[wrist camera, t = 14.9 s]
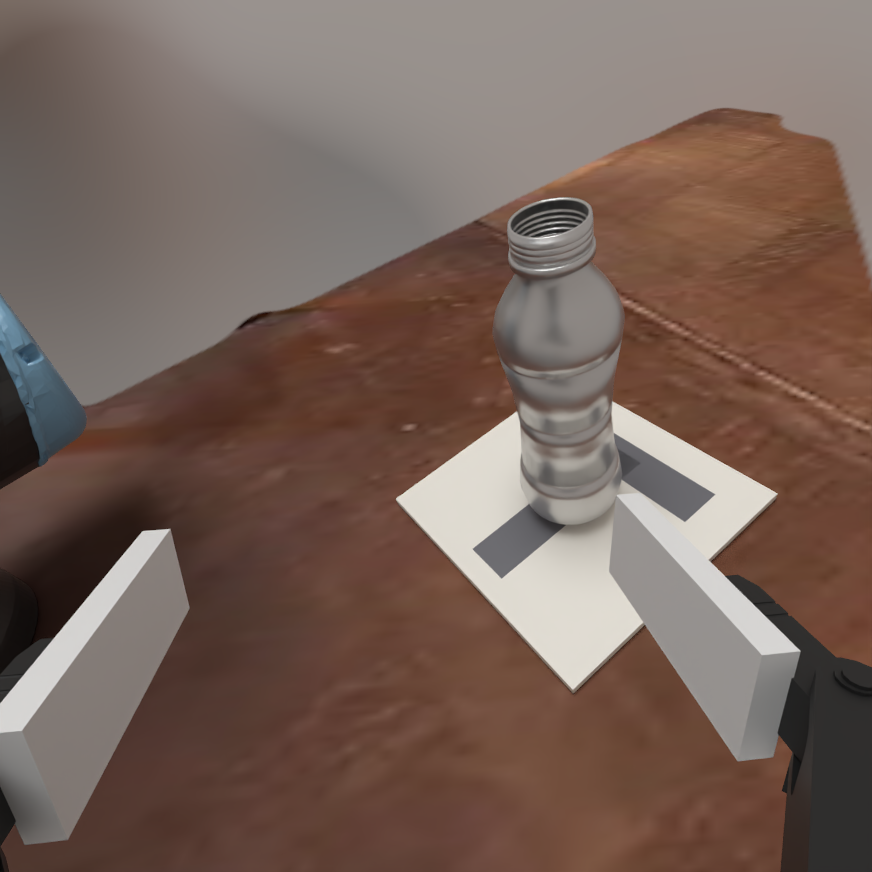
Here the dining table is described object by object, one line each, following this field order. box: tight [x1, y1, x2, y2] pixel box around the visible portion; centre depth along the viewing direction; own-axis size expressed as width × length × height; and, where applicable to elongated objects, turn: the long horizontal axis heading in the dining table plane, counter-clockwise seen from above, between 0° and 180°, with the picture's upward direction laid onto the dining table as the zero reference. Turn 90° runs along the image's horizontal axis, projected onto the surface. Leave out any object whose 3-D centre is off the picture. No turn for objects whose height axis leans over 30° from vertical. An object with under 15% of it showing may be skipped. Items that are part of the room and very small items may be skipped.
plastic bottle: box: [493, 197, 625, 525], centre depth 29 cm, size 6×7×20 cm
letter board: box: [396, 402, 777, 694], centre depth 37 cm, size 18×18×1 cm
